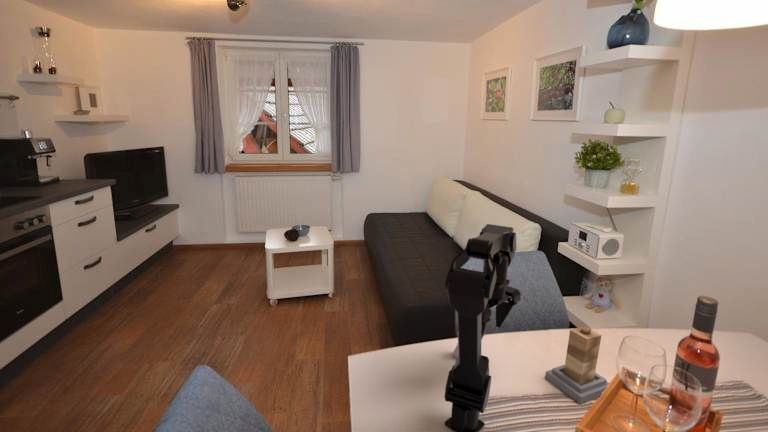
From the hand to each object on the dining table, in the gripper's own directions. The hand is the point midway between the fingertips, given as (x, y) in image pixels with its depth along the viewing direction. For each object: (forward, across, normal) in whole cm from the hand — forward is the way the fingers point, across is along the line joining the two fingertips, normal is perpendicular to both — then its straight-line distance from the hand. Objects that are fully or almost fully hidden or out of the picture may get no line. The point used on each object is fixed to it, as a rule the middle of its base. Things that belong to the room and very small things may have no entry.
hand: (488, 333), depth 106 cm
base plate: (+13, -15, +18) cm, 27 cm away
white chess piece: (+13, -4, -10) cm, 17 cm away
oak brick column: (+11, -15, +18) cm, 26 cm away
